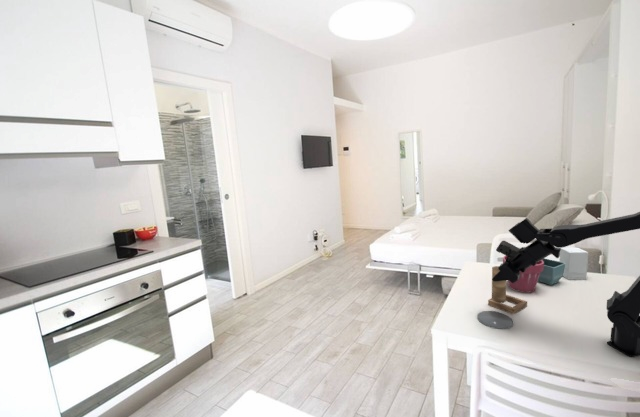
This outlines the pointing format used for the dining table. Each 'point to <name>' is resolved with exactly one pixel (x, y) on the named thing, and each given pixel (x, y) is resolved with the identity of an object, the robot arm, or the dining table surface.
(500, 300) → the oak post
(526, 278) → the plant pot
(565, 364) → the dining table surface
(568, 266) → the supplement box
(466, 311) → the dining table surface
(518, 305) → the pocket frame
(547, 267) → the flower pot
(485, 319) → the slate coaster
